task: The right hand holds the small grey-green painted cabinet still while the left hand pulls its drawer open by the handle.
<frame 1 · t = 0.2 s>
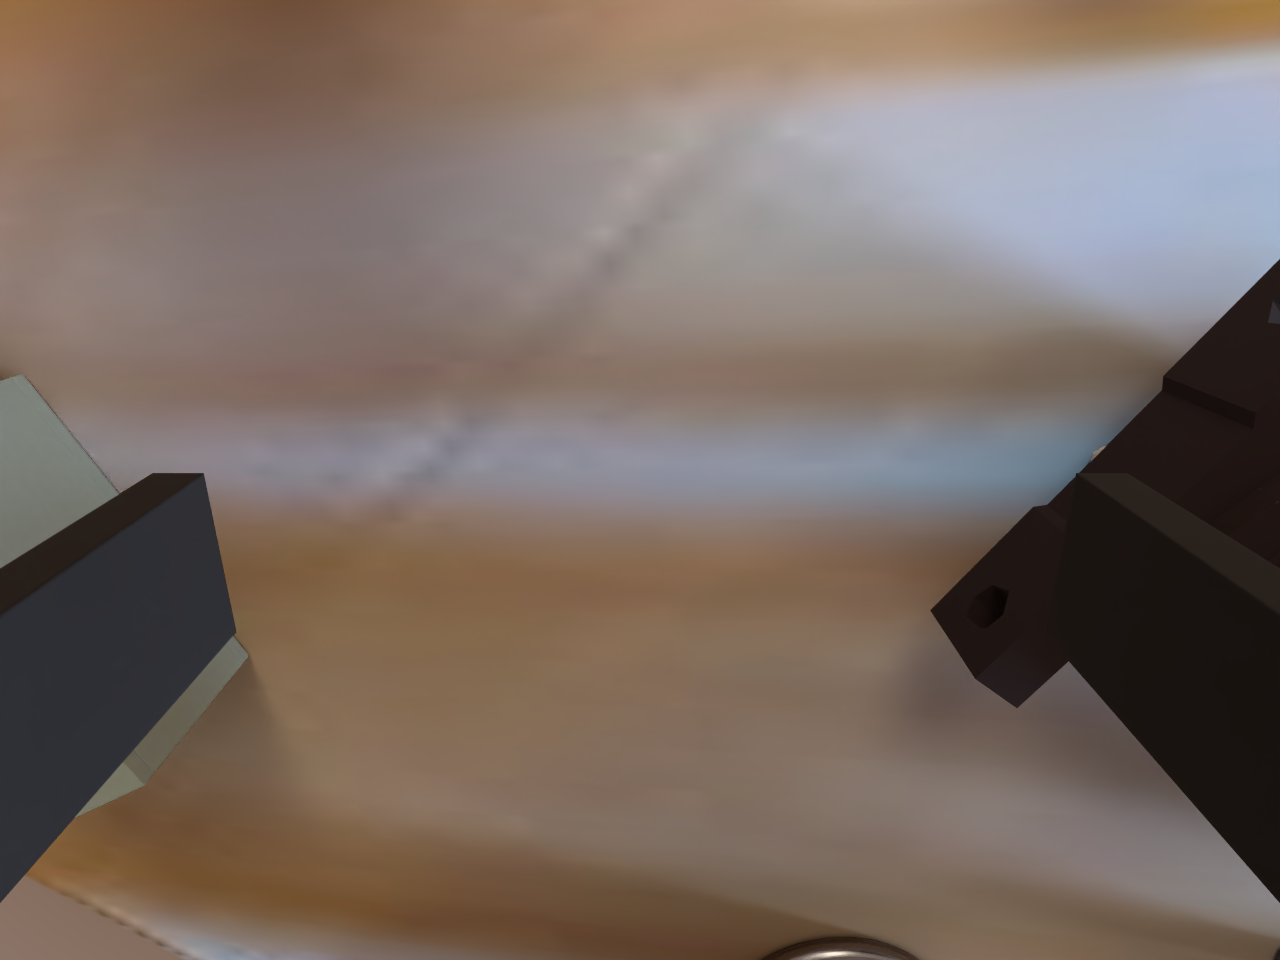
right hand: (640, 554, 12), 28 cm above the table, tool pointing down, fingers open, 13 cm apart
cabinet: (63, 566, 44), on the table
mechanical component: (1246, 577, 44), on the table
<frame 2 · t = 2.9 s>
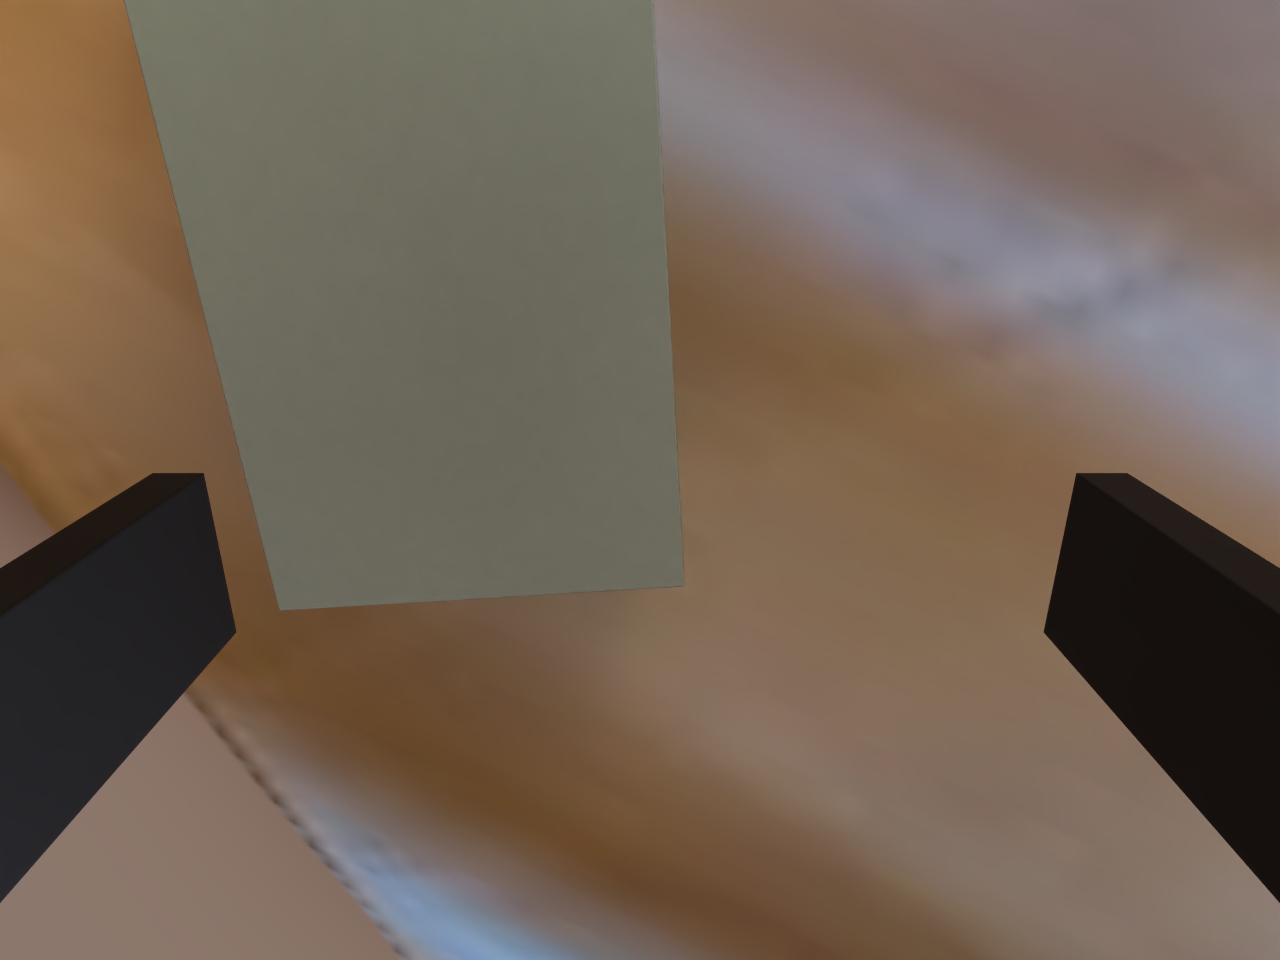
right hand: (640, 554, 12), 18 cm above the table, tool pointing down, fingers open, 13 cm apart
cabinet: (499, 222, 28), on the table
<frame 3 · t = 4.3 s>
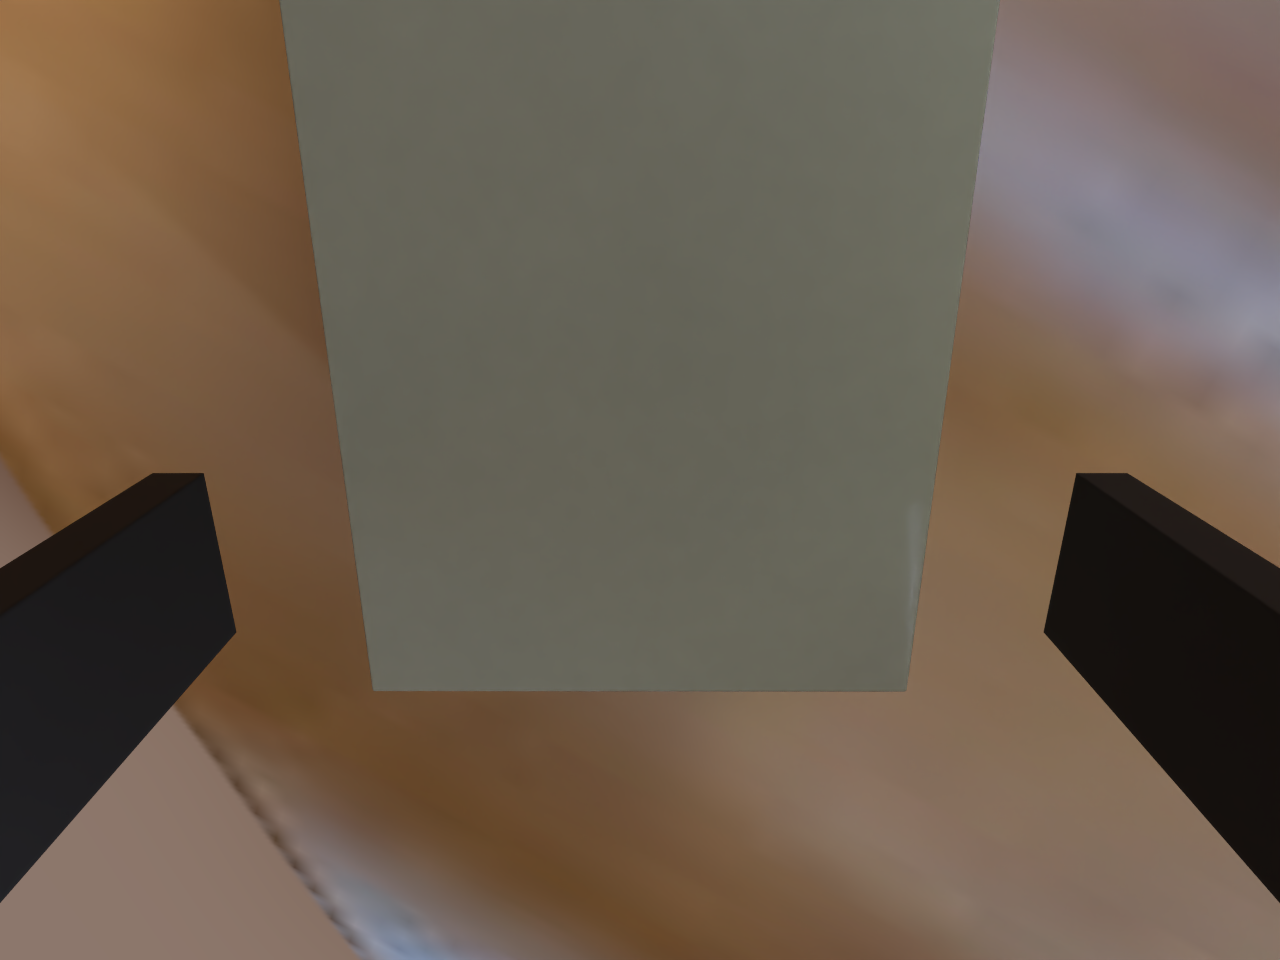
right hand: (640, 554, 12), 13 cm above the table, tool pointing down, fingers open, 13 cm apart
cabinet: (640, 206, 23), on the table
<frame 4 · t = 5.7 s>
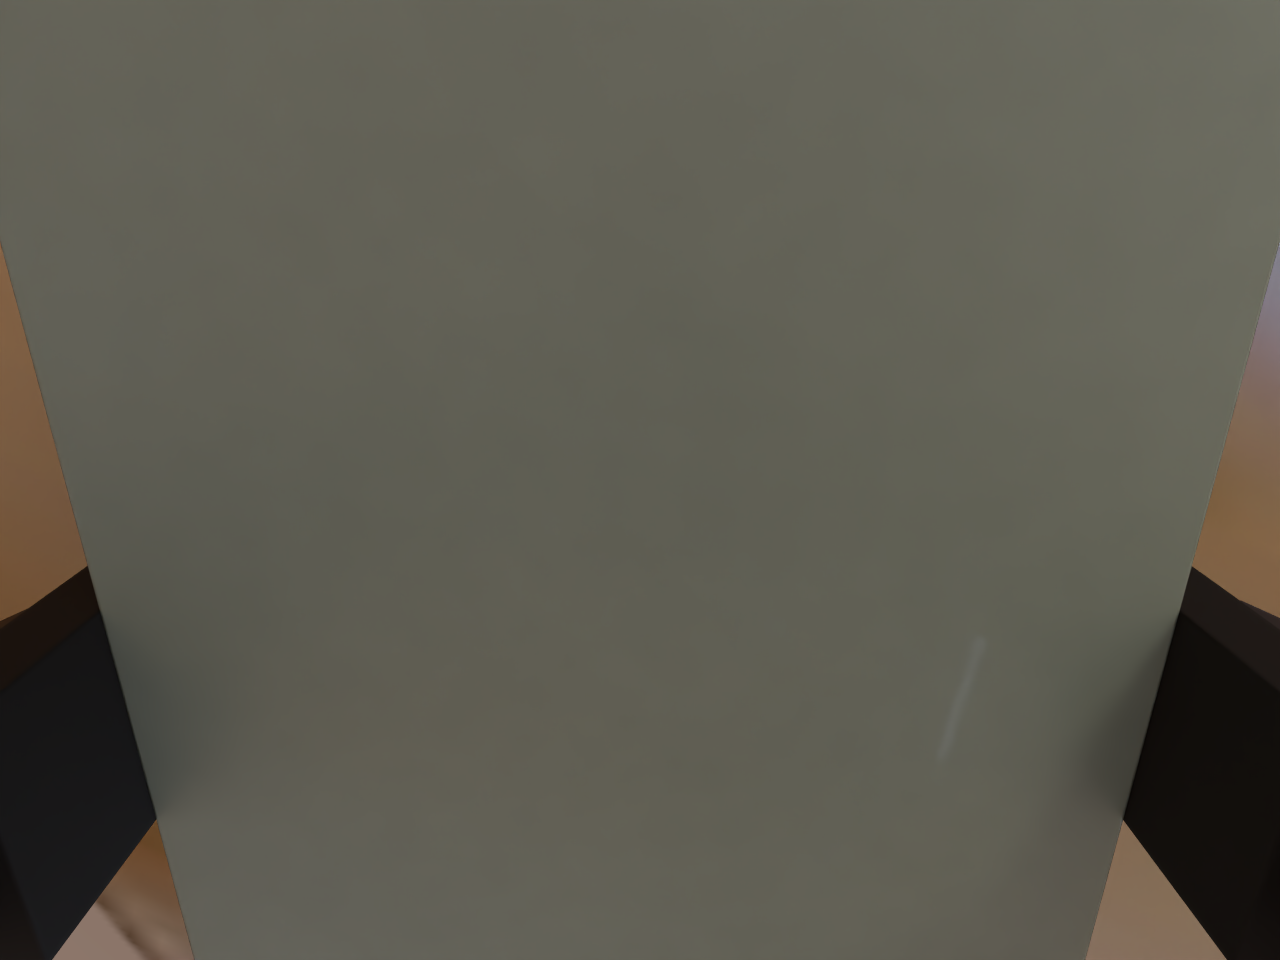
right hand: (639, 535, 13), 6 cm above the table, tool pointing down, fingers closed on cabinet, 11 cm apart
cabinet: (640, 204, 17), on the table, touching right hand
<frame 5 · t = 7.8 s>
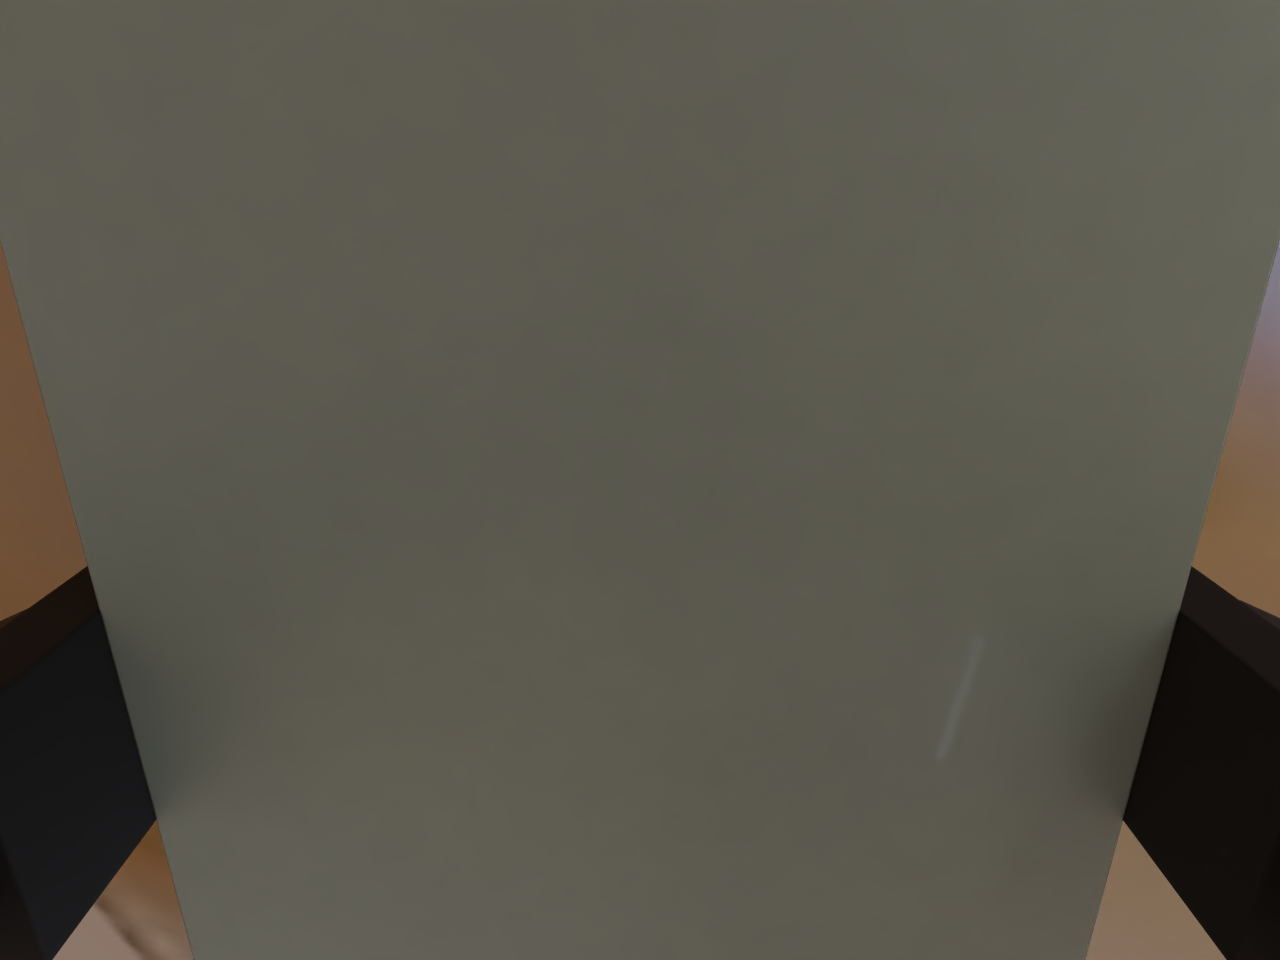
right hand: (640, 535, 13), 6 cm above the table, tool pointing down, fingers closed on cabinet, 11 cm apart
cabinet: (640, 204, 17), on the table, touching right hand
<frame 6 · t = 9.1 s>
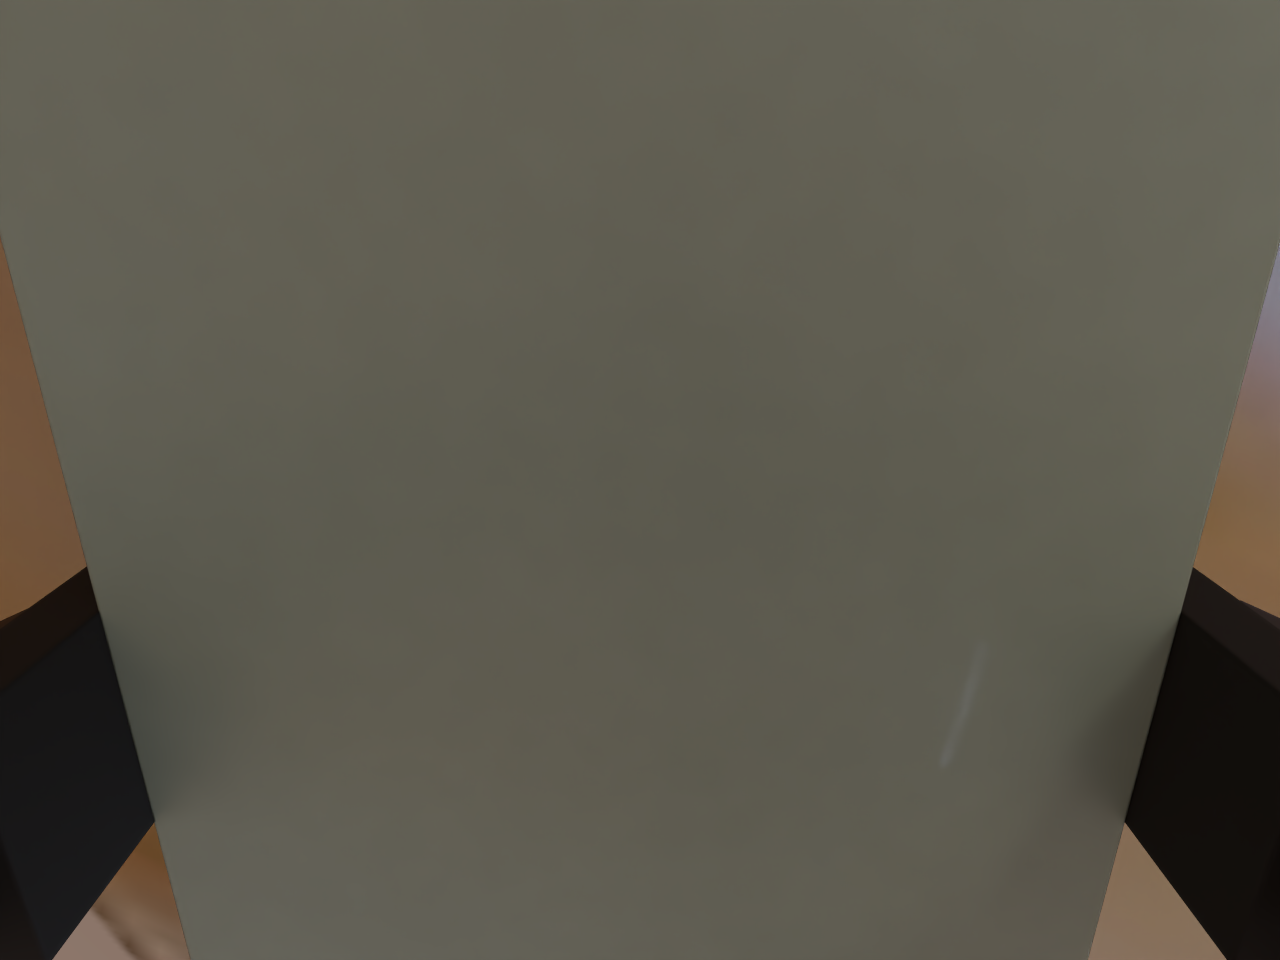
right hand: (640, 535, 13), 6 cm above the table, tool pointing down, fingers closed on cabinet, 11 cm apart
cabinet: (641, 206, 17), on the table, touching right hand
when the right hand's fingers open (6 cm above the table, at t = 10.7 s): cabinet stays where it is, on the table.
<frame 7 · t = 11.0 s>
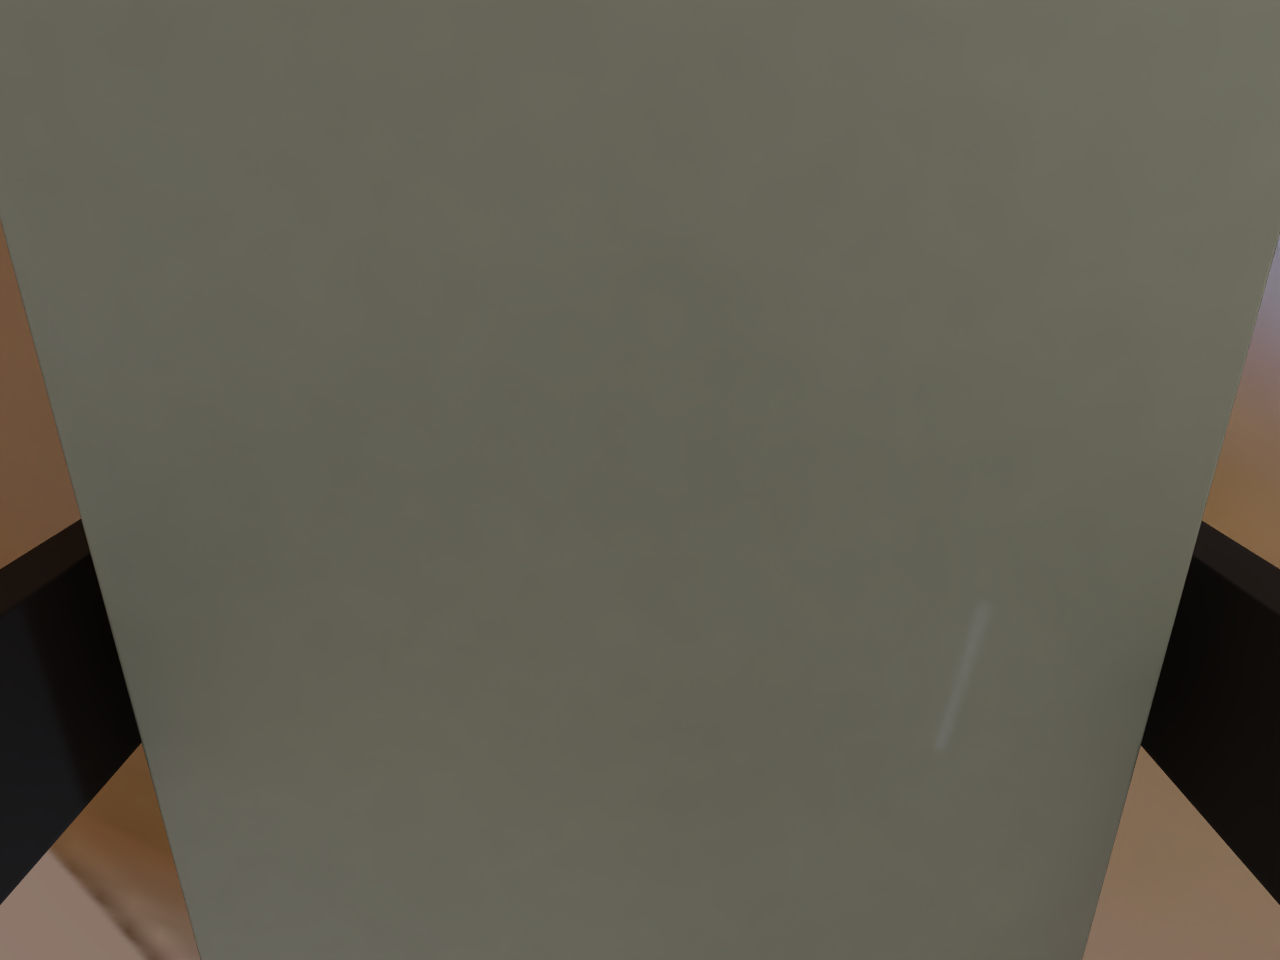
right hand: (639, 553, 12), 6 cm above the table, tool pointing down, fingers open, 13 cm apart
cabinet: (640, 178, 17), on the table
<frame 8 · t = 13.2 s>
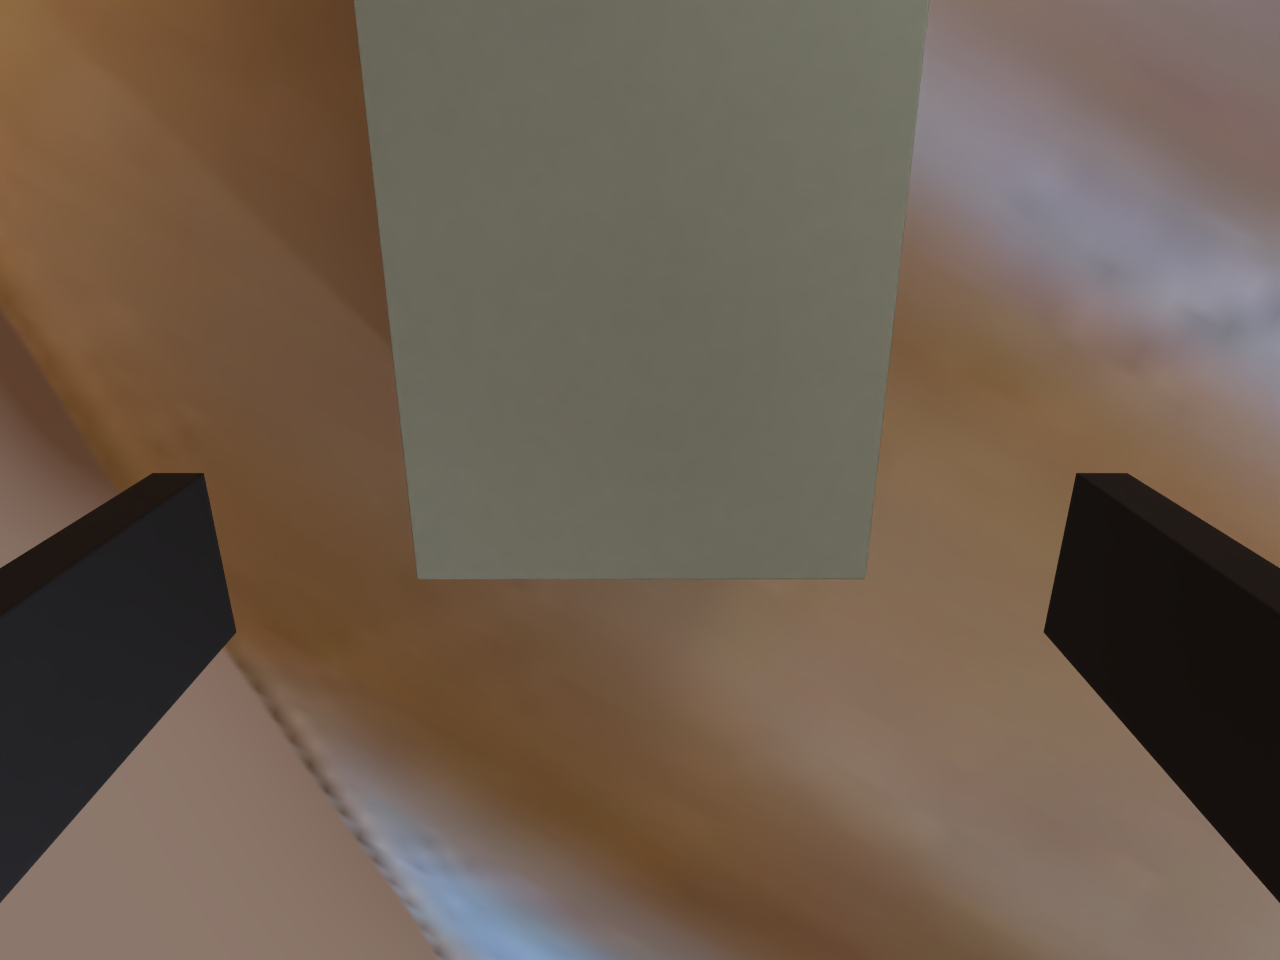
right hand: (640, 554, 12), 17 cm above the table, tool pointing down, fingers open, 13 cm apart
cabinet: (640, 177, 26), on the table
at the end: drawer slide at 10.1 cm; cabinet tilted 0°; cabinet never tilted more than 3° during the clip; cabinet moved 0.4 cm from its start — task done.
